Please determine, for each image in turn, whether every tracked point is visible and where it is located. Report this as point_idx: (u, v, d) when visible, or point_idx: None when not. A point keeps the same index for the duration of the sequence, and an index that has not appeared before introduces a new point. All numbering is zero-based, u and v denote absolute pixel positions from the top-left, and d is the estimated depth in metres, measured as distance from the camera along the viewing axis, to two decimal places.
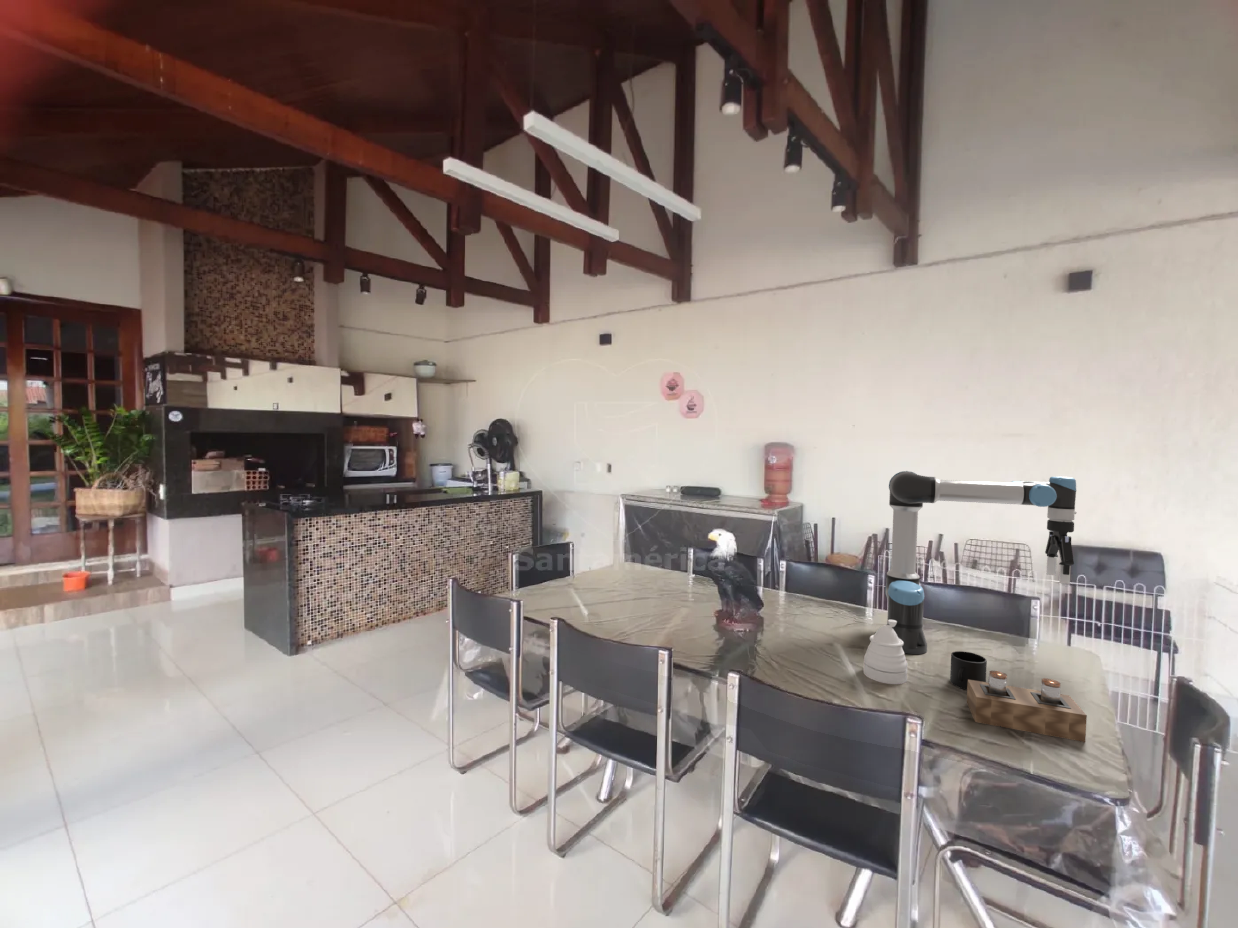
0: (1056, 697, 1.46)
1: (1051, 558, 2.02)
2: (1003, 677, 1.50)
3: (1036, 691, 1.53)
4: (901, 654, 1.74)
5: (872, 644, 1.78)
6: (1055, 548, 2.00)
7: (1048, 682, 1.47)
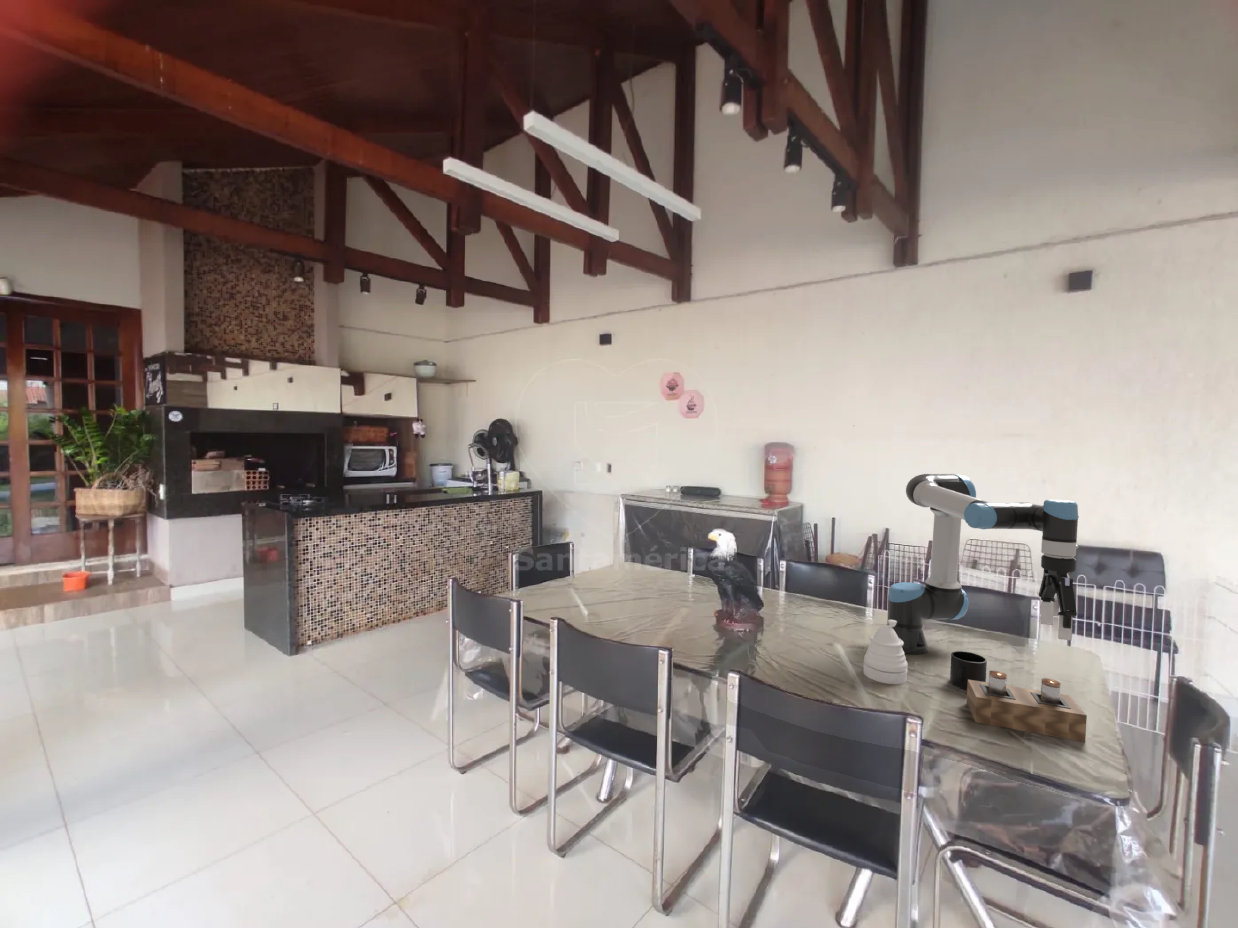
0: (1056, 697, 1.46)
1: (1046, 603, 1.59)
2: (1003, 677, 1.50)
3: (1036, 691, 1.53)
4: (901, 654, 1.74)
5: (872, 644, 1.78)
6: (1051, 591, 1.57)
7: (1048, 682, 1.47)
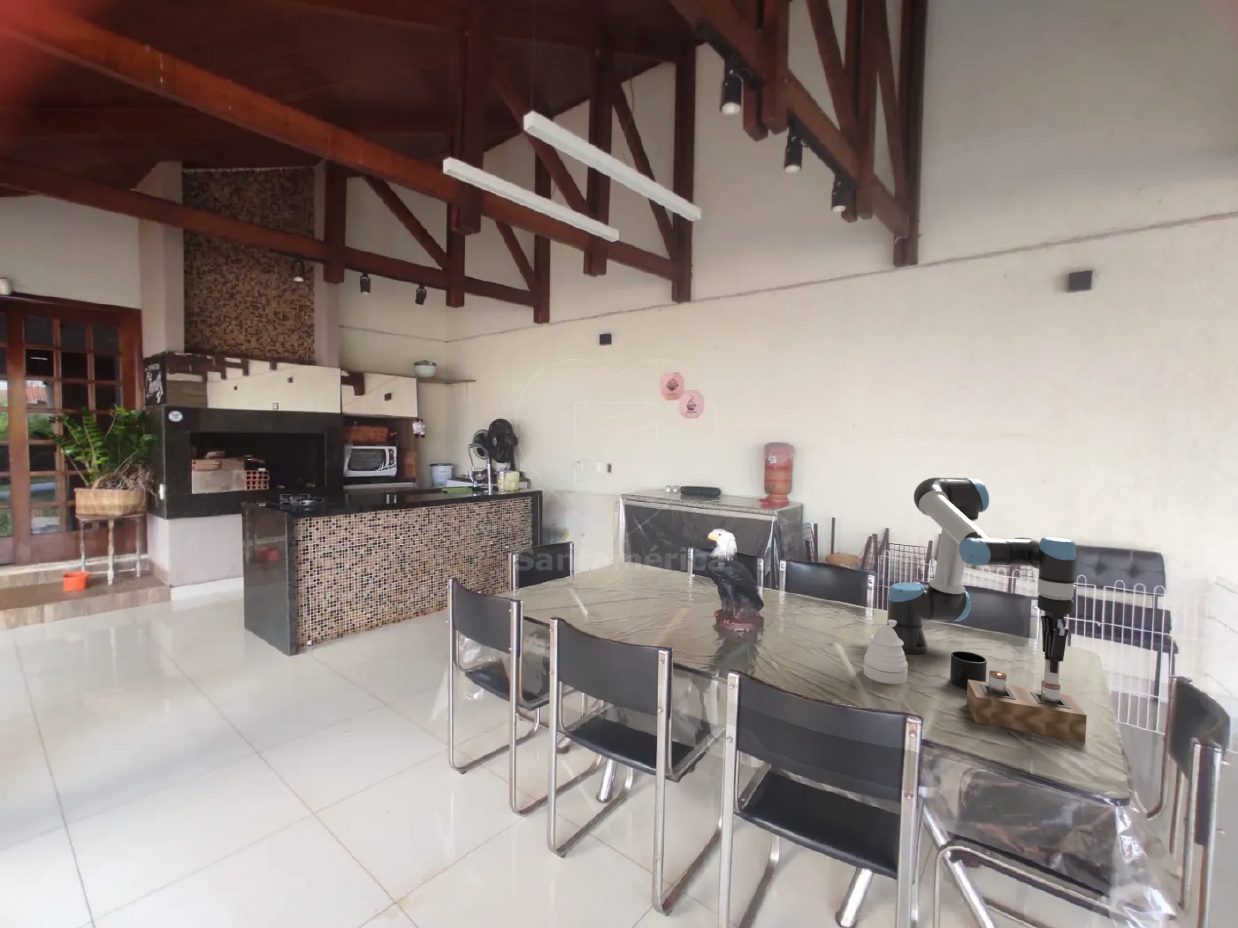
0: (1056, 699, 1.46)
1: (1051, 660, 1.47)
2: (1003, 677, 1.50)
3: (1036, 691, 1.53)
4: (901, 654, 1.74)
5: (872, 644, 1.78)
6: None
7: (1048, 684, 1.47)
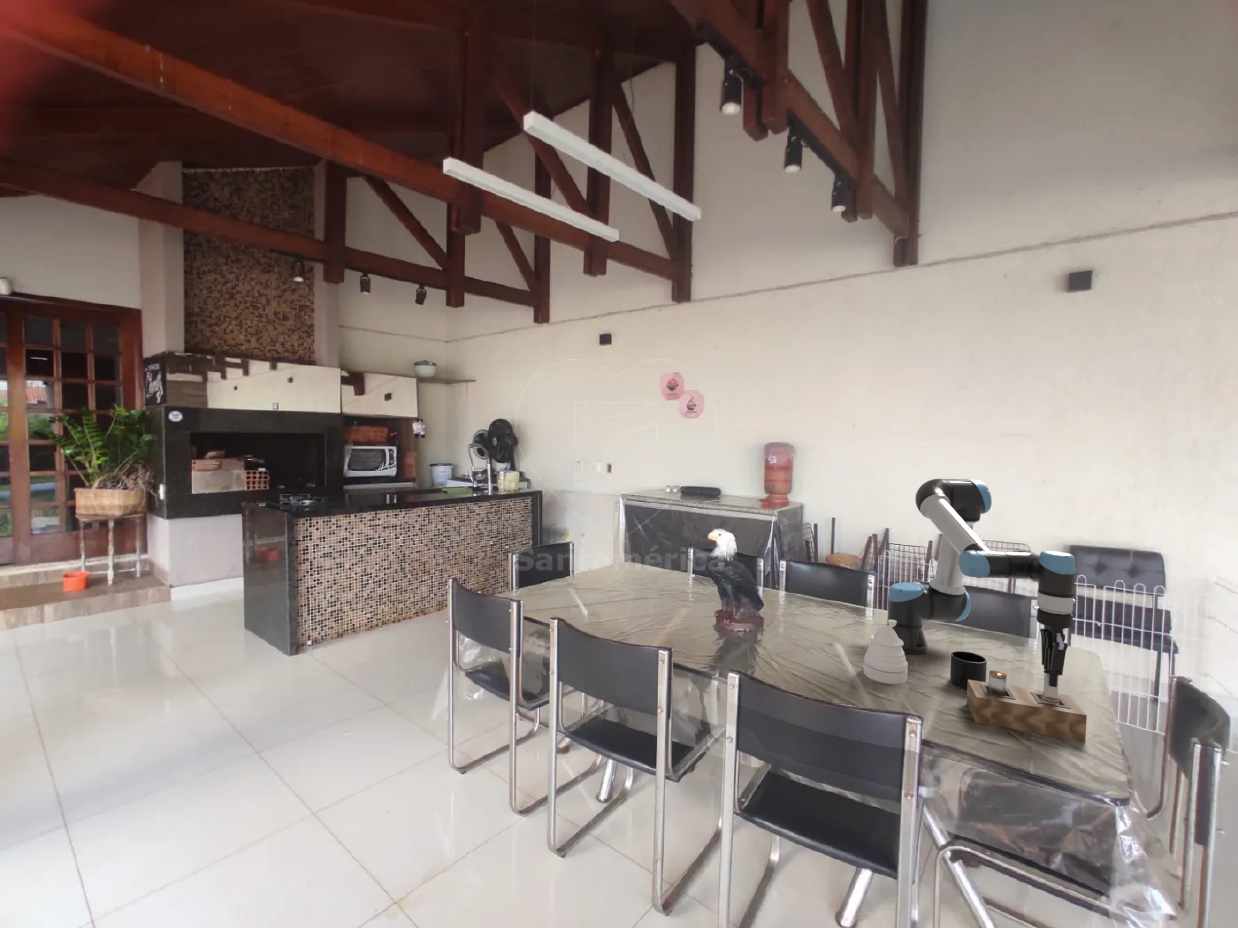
0: None
1: (1050, 673, 1.48)
2: (1003, 677, 1.50)
3: (1036, 691, 1.53)
4: (901, 654, 1.74)
5: (872, 644, 1.78)
6: None
7: (1047, 698, 1.47)
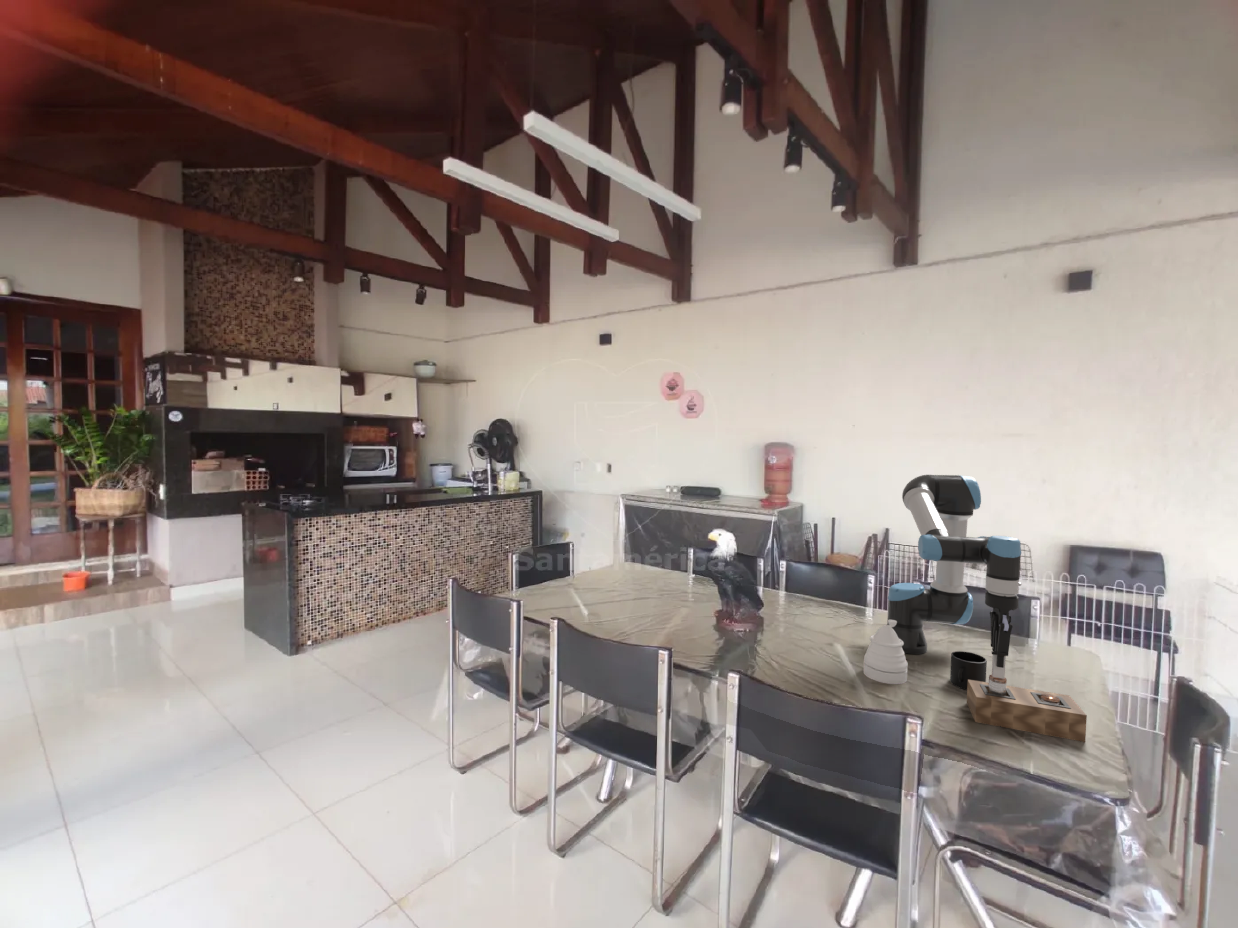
0: None
1: (997, 654, 1.52)
2: (1002, 681, 1.50)
3: (1036, 691, 1.53)
4: (901, 654, 1.74)
5: (872, 644, 1.78)
6: None
7: (1047, 698, 1.47)
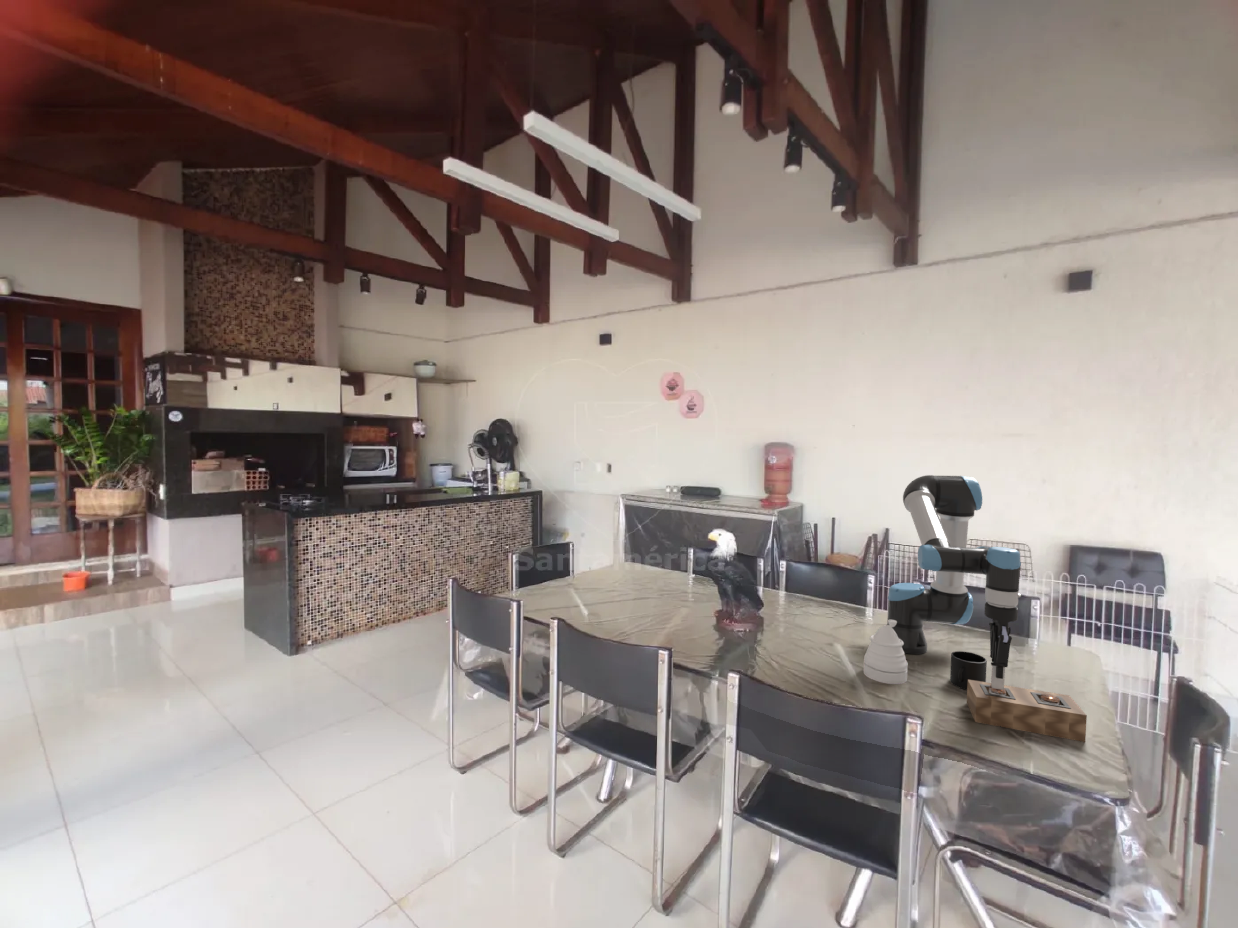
0: None
1: (997, 665, 1.52)
2: (1002, 693, 1.51)
3: (1036, 691, 1.53)
4: (901, 654, 1.74)
5: (872, 644, 1.78)
6: None
7: (1047, 698, 1.47)
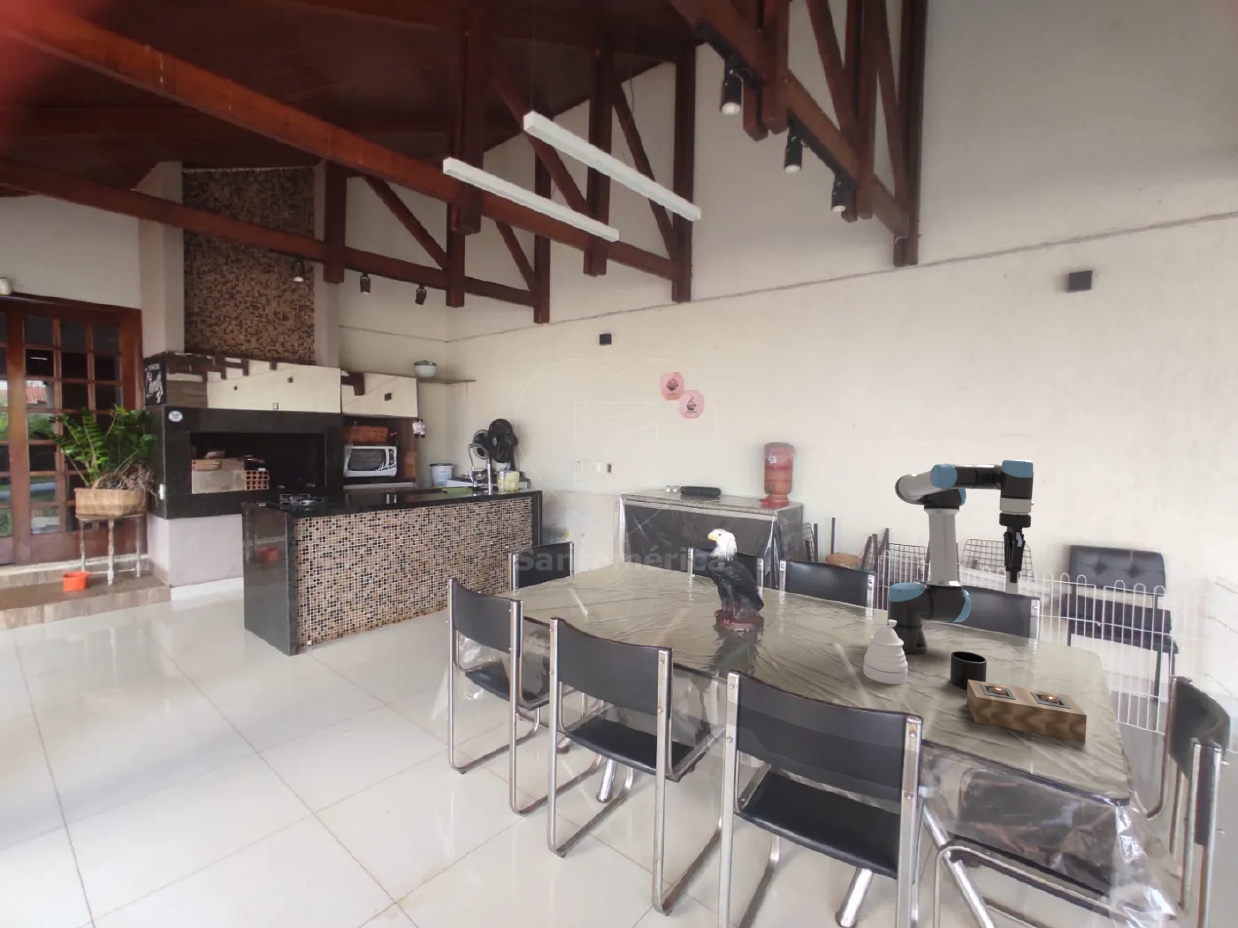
0: None
1: None
2: (1002, 693, 1.51)
3: (1036, 691, 1.53)
4: (901, 654, 1.74)
5: (872, 644, 1.78)
6: None
7: (1047, 698, 1.47)
